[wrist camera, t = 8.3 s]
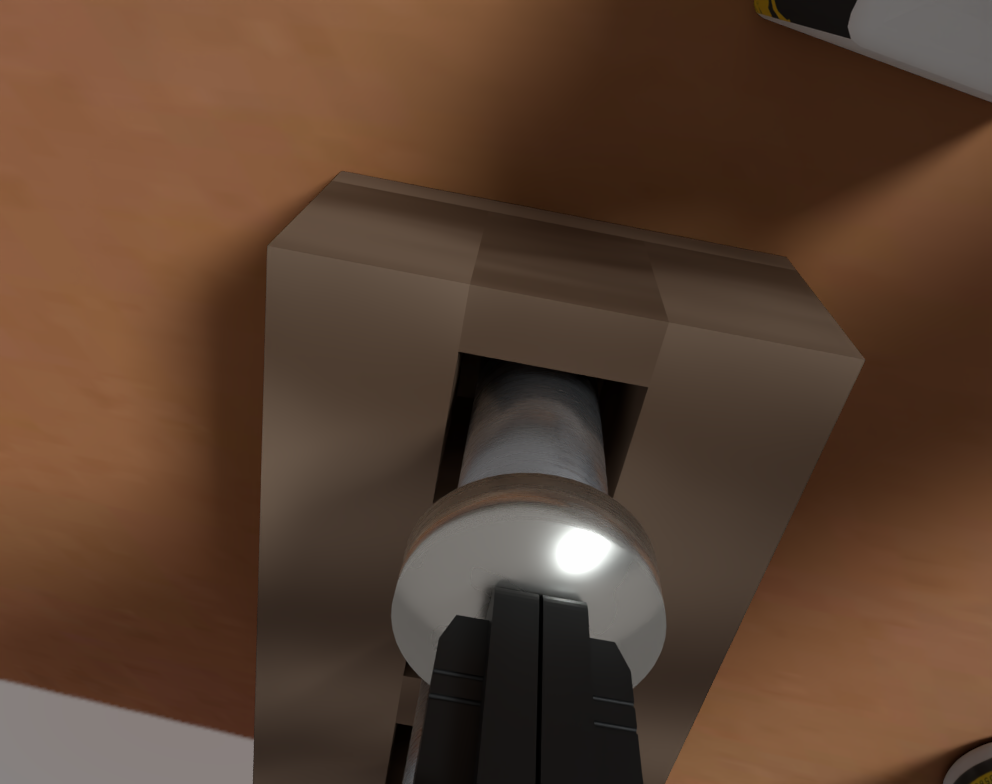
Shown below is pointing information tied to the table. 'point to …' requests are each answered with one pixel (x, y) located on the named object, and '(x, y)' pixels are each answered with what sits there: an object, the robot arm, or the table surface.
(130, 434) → the table surface
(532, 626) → the robot arm
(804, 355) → the mount
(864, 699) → the table surface
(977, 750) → the supplement bottle
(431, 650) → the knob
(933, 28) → the medicine bottle
